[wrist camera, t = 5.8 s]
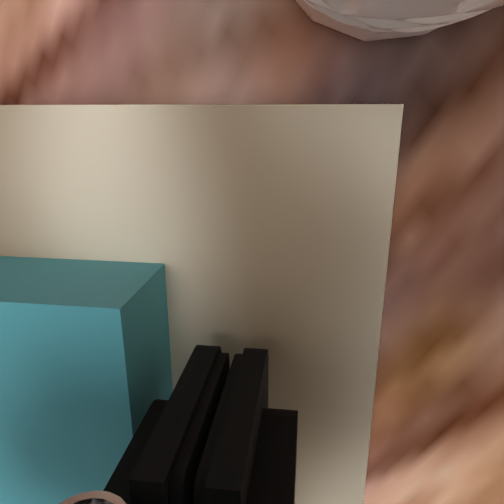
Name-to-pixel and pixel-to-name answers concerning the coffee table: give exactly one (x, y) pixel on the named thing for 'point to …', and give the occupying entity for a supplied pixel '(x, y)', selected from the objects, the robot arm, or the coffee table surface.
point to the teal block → (76, 370)
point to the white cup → (392, 15)
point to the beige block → (232, 240)
